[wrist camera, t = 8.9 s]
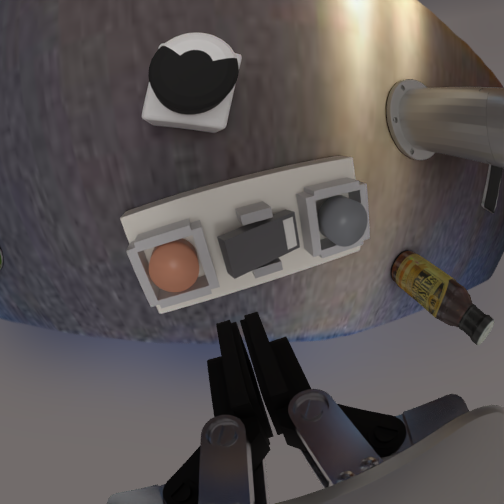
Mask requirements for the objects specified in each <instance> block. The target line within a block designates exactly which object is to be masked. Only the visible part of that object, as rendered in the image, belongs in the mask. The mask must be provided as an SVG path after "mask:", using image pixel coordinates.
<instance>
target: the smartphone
mask: <svg viewBox="0 0 504 504" xmlns="http://www.w3.org/2000/svg"><path fill="white" fill-rule="evenodd" d="M502 169H503V168H501V167H497V166H494V165H490V164H489V169H488V175H487V180H486V186H485V189H484V194H483V200H482V207H483V208H485V209H487V210H488V211H490V212H491V213H494V212H495V208H496V203H497V198H498V193H499V188H500V182H501V176H502Z"/></svg>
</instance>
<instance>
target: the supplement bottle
mask: <svg viewBox="0 0 504 504" xmlns="http://www.w3.org/2000/svg"><path fill="white" fill-rule="evenodd" d="M2 265H3V256H2V251H1V249H0V270H1V268H2Z"/></svg>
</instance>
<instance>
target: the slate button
mask: <svg viewBox="0 0 504 504" xmlns="http://www.w3.org/2000/svg"><path fill="white" fill-rule="evenodd" d="M317 218H318V226H319V231H320V232H321V234H322V235H324V236H325V237H326V238H328V239H329V240H331V241H332V242H333V243H335V244H336V245H338V246H342V247H346V246H350V245H353V244H355V243H356V242H357V241H358V240H359V239H360V238H361V237H362V236H363V234H364V232H365V230H366V227H367V221H368V218H367V212H366V210H365V208H364V207H363V205H362V204H361V203H359V202H357V201H355V200H352V199H350V198H347V197H345V196H342V195H336V196H332V197H330V198H328V199H327V200H325V201H324V202H323V204H322V205H321V206H320V208H319V211H318V214H317Z"/></svg>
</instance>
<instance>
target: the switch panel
mask: <svg viewBox="0 0 504 504" xmlns="http://www.w3.org/2000/svg"><path fill="white" fill-rule="evenodd" d="M336 195H342V196H345V197H347V198H350V199H352V200H355V201H357V202H359V203H361V204H362V205H363V207H364V208H365V210H366V212H367V218H368V221H367V227H366V230H365V232H364V234H363V236H362V237H361V238H360V239H359V240H358V241H357V242H356V243H355V244H353V245H350V246H346V247H342V246H338V245H336V244H335V243H333V242H332V241H331V240H329V239H328V238H326V237H325V236H324V235H322V234H321V232H320V231H319V226H318V218H317V214H318V211H319V208H320V206H321V205H322V204H323V202H324V201H325V200H327V199H328V198H330V197H332V196H336ZM285 209H286V210H290V211H293V212H295V218H296V224H297V230H298V237H299V243H300V247H299V248H297V249H295V250H293V251H291V252H289V253H287V254H285V255H283V256H281V257H279V258H277V259H275V260H273V261H271V262H269V263H267V264H265V265H263V266H261V267H258V268H256V269H254V270H252V271H250V272H248V273H246V274H244V275H242V276H240V277H238V278H236V279H234V278H233V277H232V276H230V275H229V274H228V273H227V270H226V266H225V263H224V259H223V256H222V252H221V249H220V245H219V242H218V238H217V236H220V235H222V234H225V233H227V232H229V231H232V230H234V229H237V228H239V227H242V226H244V225H247V224H250V223H254V222H257V221H261V220H265V219H268V218H272V217H273V214H274V213H277V212H280V211H282V210H285ZM120 220H121V222H122V225H123V228H124V231H125V233H126V236H127V239H128V241H129V246H128V248H127V250H126V252H127V254H128V257H129V259H130V261H131V264H132V266H133V269H134V271H135V273H136V276H137V278H138V280H139V282H140V285H141V287H142V289H143V291H144V293H145V295H146V298H147V300H148V302H149V304H150V306H151V307H153V306H156V307H157V309H158V311H159V313H160V314H162V313H166V312H169V311H173V310H176V309H180V308H183V307H187V306H190V305H193V304H197V303H200V302H204V301H207V300H210V299H214V298H217V297H220V296H224V295H227V294H230V293H233V292H237V291H240V290H243V289H246V288H249V287H253V286H256V285H259V284H262V283H265V282H268V281H271V280H275V279H278V278H281V277H284V276H287V275H290V274H293V273H296V272H299V271H302V270H305V269H308V268H311V267H314V266H317V265H320V264H322V263H325V262H328V261H331V260H334V259H337V258H340V257H343V256H345V255H348V254H351V253H354V252H357V251H360V245H363V240H366V239H369V238H370V229H369V209H368V194H367V184H366V183H363V182H359V181H358V180H355V171H354V163H353V157H348V156H340V155H338V156H333V157H327V158H322V159H316V160H311V161H306V162H301V163H296V164H292V165H287V166H282V167H278V168H273V169H269V170H265V171H261V172H256V173H252V174H248V175H244V176H240V177H236V178H232V179H229V180H225V181H221V182H218V183H214V184H210V185H207V186H203V187H200V188H196V189H193V190H189V191H186V192H183V193H180V194H176V195H173V196H170V197H167V198H164V199H160V200H157V201H154V202H151V203H148V204H145V205H142V206H139V207H137V208H134V209H131V210H128V211H126V212H125V213H124V214H123V215H122V217H121V218H120ZM182 238H183V239H185V240H187V241H188V242H190V243H191V244H192V245H193V247H194V248H195V250H196V252H197V256H198V263H199V275H198V278H197V280H196V281H195V283H194V284H193V285H192V286H191V287H190V288H188V289H186V290H184V291H181V292H168V291H165V290H162V289H160V288H159V287H158V286H156V285H155V284H154V282H153V281H152V279H151V277H150V275H149V262H150V258H151V255H152V251H153V249H154V247H156V246H159V245H162V244H165V243H169V242H172V241H175V240H178V239H182Z"/></svg>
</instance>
